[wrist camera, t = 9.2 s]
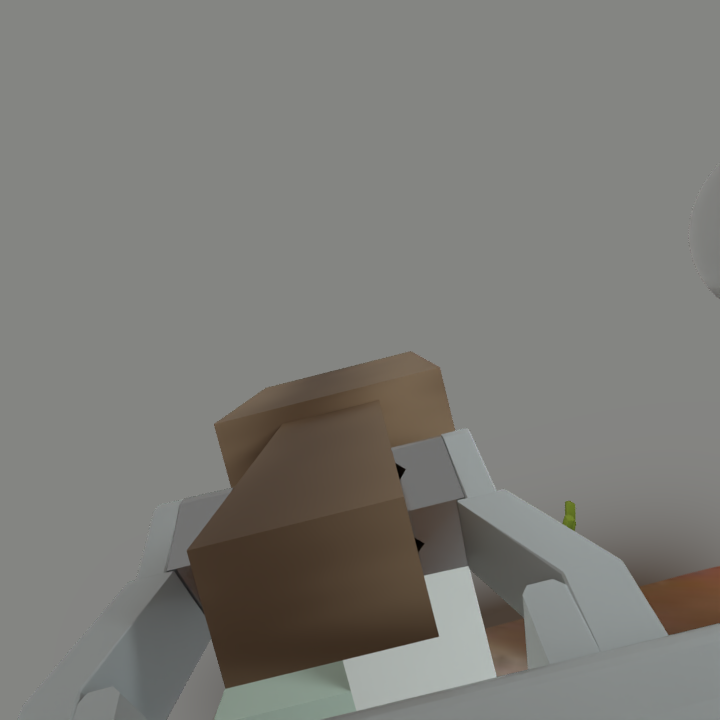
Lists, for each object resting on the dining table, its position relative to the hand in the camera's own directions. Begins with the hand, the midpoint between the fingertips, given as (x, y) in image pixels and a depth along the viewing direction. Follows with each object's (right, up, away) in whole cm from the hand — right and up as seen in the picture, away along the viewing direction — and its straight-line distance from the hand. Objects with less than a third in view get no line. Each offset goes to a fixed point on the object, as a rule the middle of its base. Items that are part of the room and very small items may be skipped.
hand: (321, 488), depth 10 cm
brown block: (0, -1, +6) cm, 6 cm away
